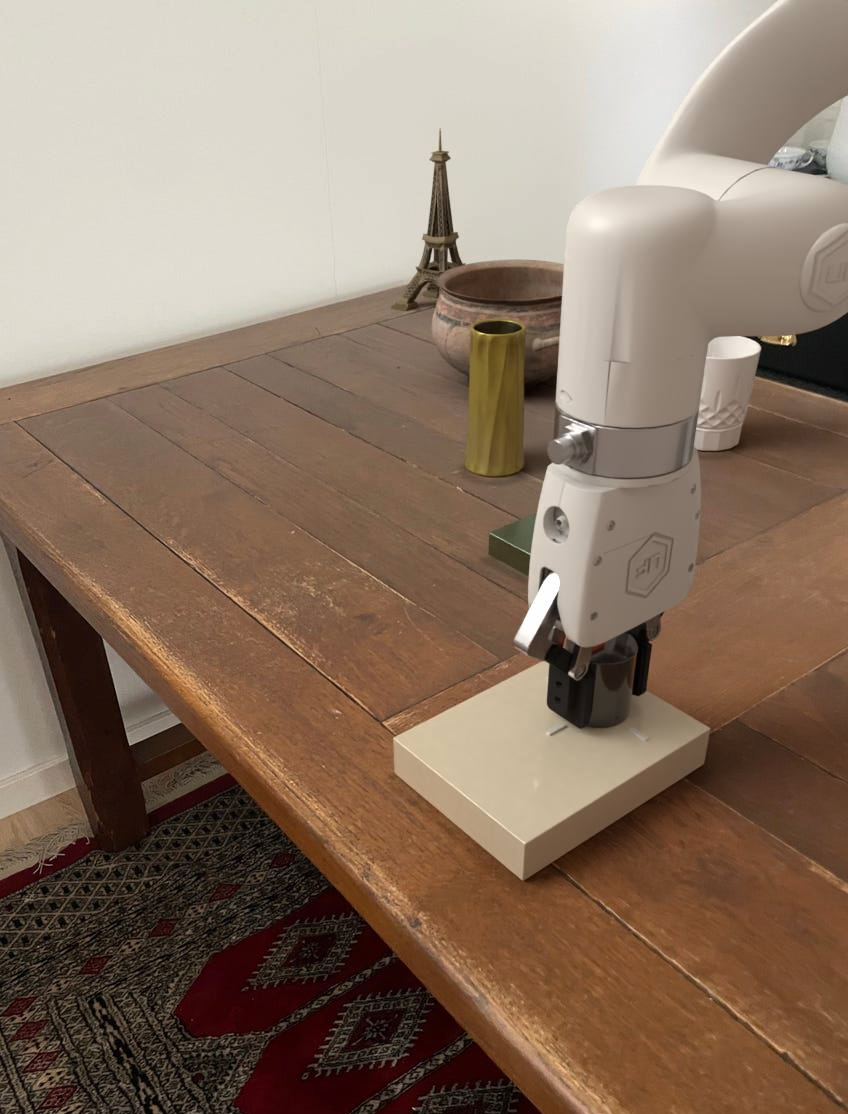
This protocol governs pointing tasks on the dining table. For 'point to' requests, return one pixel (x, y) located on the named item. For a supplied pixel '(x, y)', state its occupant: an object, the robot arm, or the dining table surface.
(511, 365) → the vase
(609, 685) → the stove knob
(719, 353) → the white cup
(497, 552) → the green button box
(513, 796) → the beige knob base
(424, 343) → the dining table surface
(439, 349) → the cooking pot
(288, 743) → the dining table surface
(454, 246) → the eiffel tower
